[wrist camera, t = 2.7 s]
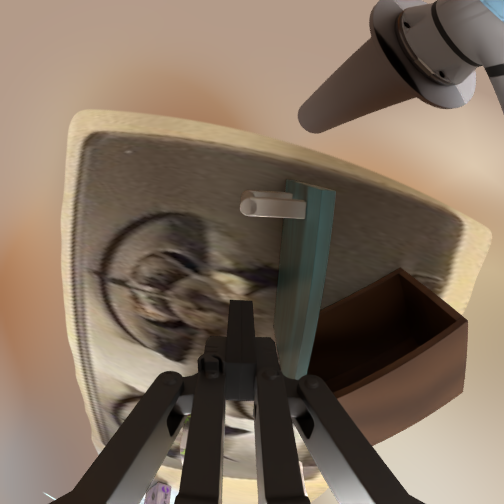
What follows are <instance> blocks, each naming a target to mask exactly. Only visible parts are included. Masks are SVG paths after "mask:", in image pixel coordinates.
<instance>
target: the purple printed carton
mask: <svg viewBox="0 0 504 504" xmlns="http://www.w3.org/2000/svg"><path fill="white" fill-rule="evenodd" d="M170 495H171V486H169V485H166V484H163V483H160V482H157V484H156V485H155V486H153V487H152V488H151V489H150V490H149V491H148V492H147V493H146V497H145V502H144V504H169V502H170Z"/></svg>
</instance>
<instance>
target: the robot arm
mask: <svg viewBox="0 0 504 504" xmlns="http://www.w3.org/2000/svg"><path fill="white" fill-rule="evenodd" d="M394 28H395V35H396V38H397V41H398V43H399V45H400V47H401V49H402V51H403V53H404V54H405V56H406V57H407V59H408V60H409V61H410V63H411V64H412V65H413V66H414V67H415V68H416V69H417V70H418V71H419V72H420V73H421V74H422V75H423V76H424V77H426V78H427V79H429V80H430V81H432V82H434V83H436V84H438V85H441V86H448V87H449V86H454V85H457V84H460V83H462V82H463V81H464V80H465V79H466V78H467V77H468V76H469V75H470V74H471V73H472V72H473V71H474V70H475V69H476V68H477V67H479V66H484V68H485V70H486V72H487V74H488V76H489V79H490V81H491V83H492V85H493V88H494V90H495V93H496V95H497V97H498V100H499V102H500V105H501V108H502V110H503V113H504V0H437V1H436V2H434V3H432V4H425V5H419V6H414V7H409V8H406V9H405V10H403V11H402V12H401V13H400V14H399V15H398V16H397V18H396V20H395V25H394ZM225 400H237V401H254V409H253V417H254V428H255V447H256V467H257V486H258V504H310V500H309V498H308V497H307V496H305V493H304V488H303V483H302V477H301V471H300V465H299V460H298V454H297V448H296V443H295V437H294V431H293V426H292V421H293V423H294V424H295V426H296V428H297V430H298V432H299V434H300V436H301V438H302V439H303V441H304V443H305V445H306V447H307V449H308V450H309V452H310V454H311V456H312V458H313V459H314V461H315V463H316V465H317V467H318V468H319V470H320V472H321V474H322V475H323V477H324V479H325V481H326V482H327V484H328V486H329V488H330V489H331V491H332V493H333V494H334V496H335V498H336V500H337V501H338V503H339V504H425V503H423V502H421V501H419V500H418V499H416V498H414V497H412V496H410V495H409V494H408V493H407V491H406V490H405V489H404V487H403V486H402V485H401V484H400V482H399V481H398V480H397V478H396V477H395V476H394V475H393V473H392V472H391V471H390V469H389V468H388V467H387V465H386V464H385V463H384V462H383V460H382V459H381V458H380V456H379V455H378V454H377V452H376V451H375V450H374V448H373V447H372V446H371V444H370V443H369V442H368V440H367V439H366V437H365V436H364V435H363V433H362V432H361V431H360V429H359V428H358V427H357V425H356V424H355V423H354V421H353V420H352V419H351V417H350V416H349V415H348V413H347V412H346V411H345V409H344V408H343V406H342V405H341V404H340V402H339V401H338V400H337V398H336V397H335V396H334V394H333V393H332V391H331V390H330V389H329V387H328V386H327V385H326V383H325V382H324V380H323V379H321V378H320V377H318V376H316V375H305V376H302V377H301V378H300V379H299V380H296V379H291V378H288V377H286V376H284V375H283V374H282V372H281V371H280V368H279V363H278V357H277V352H276V346H275V342H274V341H273V340H272V339H271V337H255V330H254V316H253V303H252V301H244V300H230V306H229V318H228V330H227V337H221V336H210V337H209V338H208V339H207V341H206V345H205V352H204V354H203V355H201V356H200V357H199V358H198V373H197V374H195V375H193V376H188V377H182V375H181V374H179V373H177V372H174V371H167V372H163V373H161V374H160V375H159V376H158V377H157V378H156V379H155V381H154V382H153V383H152V385H151V386H150V387H149V389H148V390H147V391H146V393H145V394H144V395H143V397H142V398H141V399H140V401H139V402H138V403H137V405H136V406H135V408H134V409H133V410H132V412H131V413H130V414H129V416H128V417H127V418H126V420H125V421H124V422H123V424H122V425H121V426H120V428H119V429H118V430H117V432H116V433H115V434H114V436H113V437H112V438H111V440H110V441H109V442H108V444H107V445H106V446H105V448H104V449H103V450H102V452H101V453H100V454H99V456H98V457H97V458H96V460H95V461H94V462H93V464H92V465H91V467H90V468H89V469H88V470H87V472H86V473H85V474H84V476H83V477H82V478H81V480H80V481H79V482H78V484H77V485H76V486H75V488H74V489H73V490H72V491H71V492H69V493H67V494H65V495H64V496H62V497H60V498H58V499H56V500H55V501H53V502H51V503H49V504H139V503H140V502H141V500H142V498H143V496H144V495H145V493H146V491H147V489H148V487H149V486H150V484H151V482H152V480H153V479H154V477H155V475H156V473H157V471H158V470H159V468H160V466H161V464H162V462H163V461H164V459H165V457H166V455H167V453H168V451H169V450H170V448H171V446H172V444H173V442H174V440H175V439H176V437H177V435H178V433H179V431H180V429H181V428H182V426H183V424H184V422H185V420H186V418H187V416H188V414H191V418H190V424H189V430H188V436H187V442H186V449H185V455H184V462H183V469H182V475H181V482H180V490H179V494H178V495H177V496H176V498H175V502H174V504H222V480H223V452H224V428H225ZM291 419H292V420H291Z"/></svg>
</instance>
